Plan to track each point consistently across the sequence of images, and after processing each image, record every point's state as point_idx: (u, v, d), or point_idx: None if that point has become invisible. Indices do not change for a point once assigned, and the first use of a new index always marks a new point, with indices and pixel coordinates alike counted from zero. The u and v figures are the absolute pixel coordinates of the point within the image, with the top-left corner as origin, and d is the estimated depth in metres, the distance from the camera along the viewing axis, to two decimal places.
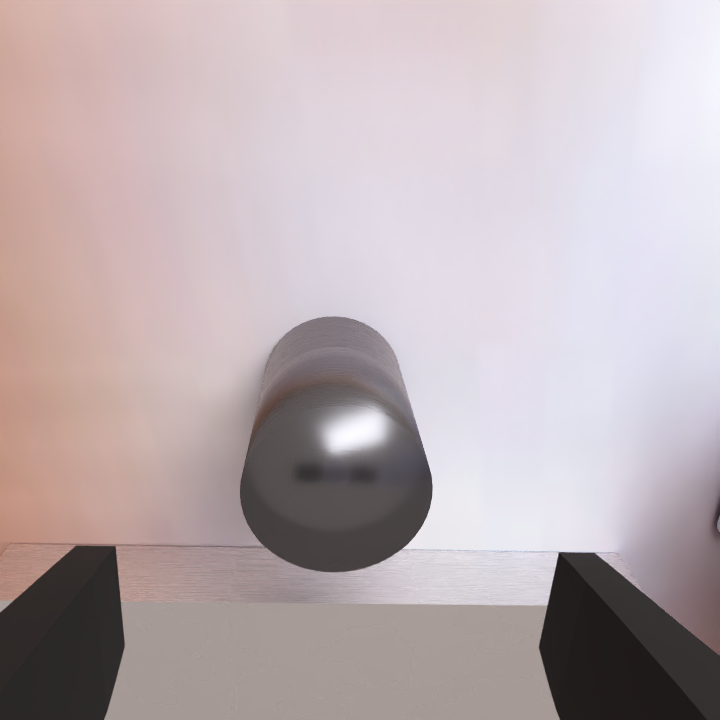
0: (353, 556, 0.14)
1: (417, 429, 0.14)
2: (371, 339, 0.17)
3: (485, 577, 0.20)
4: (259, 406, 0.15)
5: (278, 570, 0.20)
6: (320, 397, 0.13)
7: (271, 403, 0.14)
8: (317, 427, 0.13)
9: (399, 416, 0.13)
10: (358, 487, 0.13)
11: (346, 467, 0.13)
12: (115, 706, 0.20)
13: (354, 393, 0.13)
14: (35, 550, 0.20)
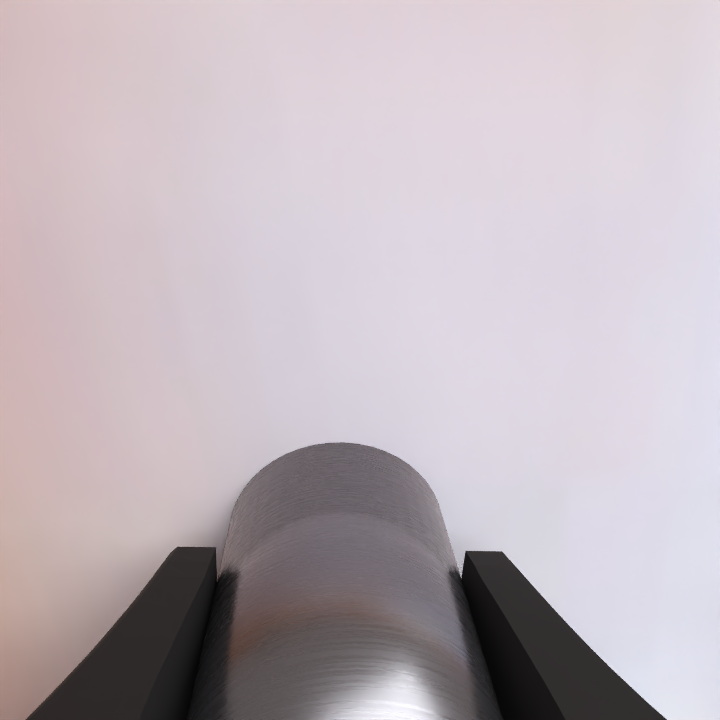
0: None
1: None
2: (402, 492, 0.10)
3: None
4: (204, 654, 0.08)
5: None
6: None
7: (219, 686, 0.07)
8: None
9: None
10: None
11: None
12: None
13: (385, 697, 0.06)
14: None
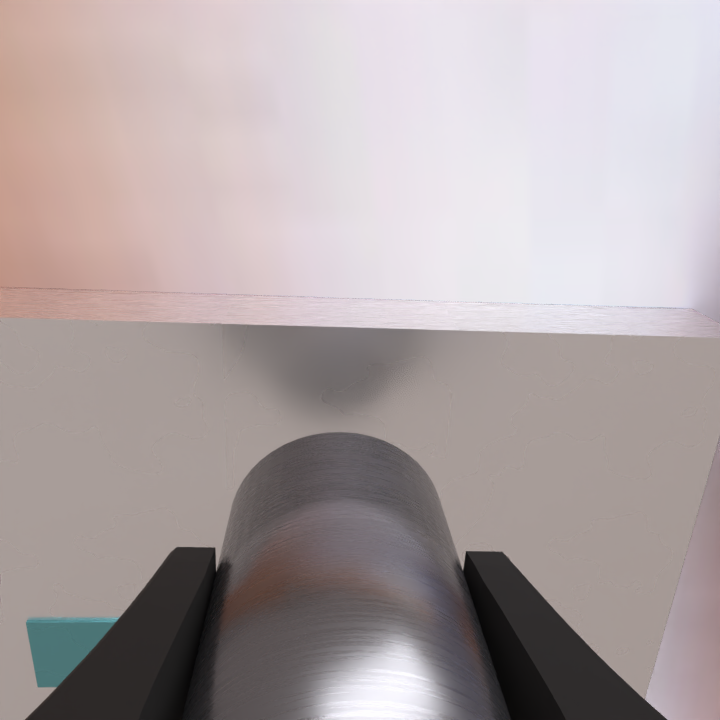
0: None
1: (504, 700, 0.07)
2: (401, 478, 0.10)
3: (537, 317, 0.16)
4: (204, 635, 0.08)
5: (283, 307, 0.16)
6: (315, 687, 0.06)
7: (220, 661, 0.07)
8: None
9: (480, 714, 0.06)
10: None
11: None
12: (87, 474, 0.16)
13: (385, 666, 0.06)
14: None
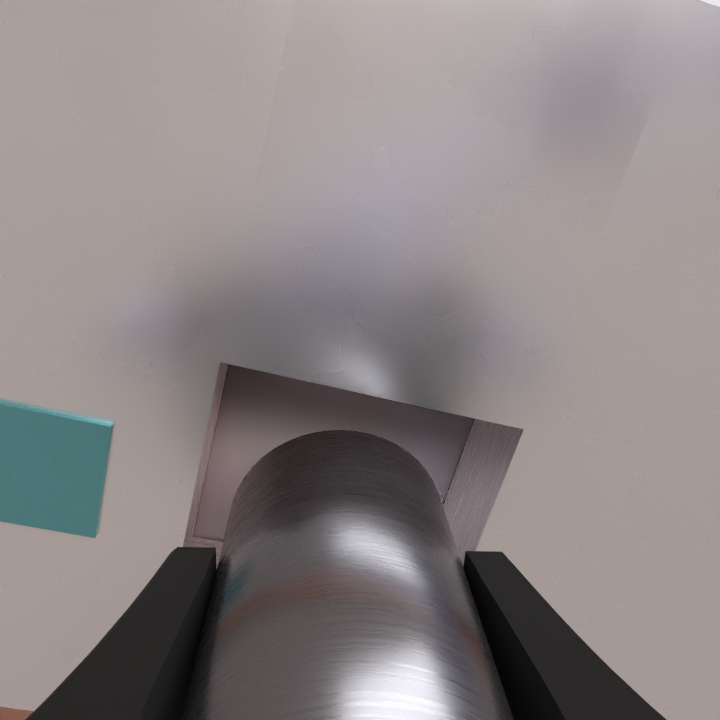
0: None
1: (504, 694, 0.07)
2: (401, 476, 0.10)
3: None
4: (205, 630, 0.08)
5: None
6: (315, 679, 0.06)
7: (220, 654, 0.07)
8: None
9: (481, 706, 0.06)
10: None
11: None
12: (21, 118, 0.09)
13: (386, 658, 0.06)
14: None
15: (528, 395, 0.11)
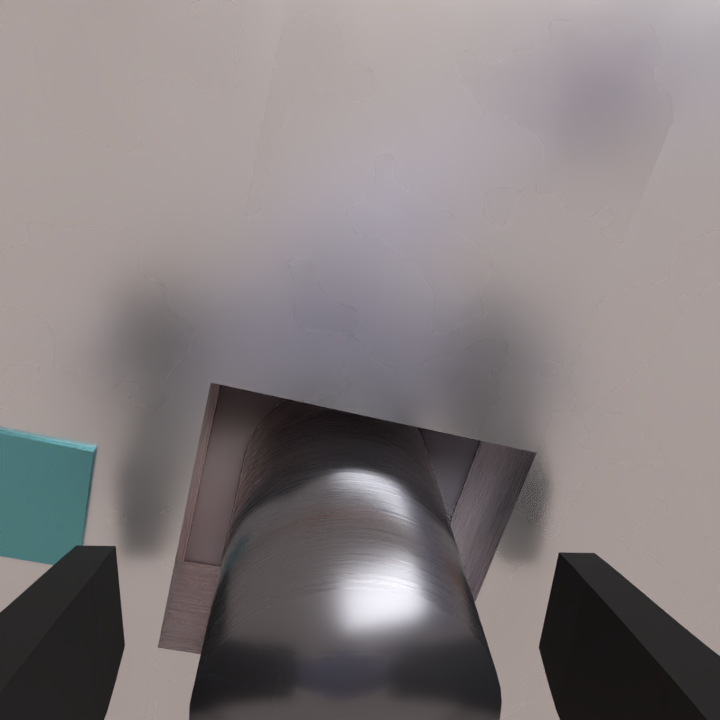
0: None
1: (470, 590, 0.09)
2: (391, 425, 0.12)
3: None
4: (227, 544, 0.10)
5: None
6: (319, 565, 0.08)
7: (242, 556, 0.09)
8: (315, 624, 0.08)
9: (447, 589, 0.08)
10: (382, 708, 0.08)
11: (363, 680, 0.08)
12: None
13: (374, 552, 0.08)
14: None
15: (541, 416, 0.11)
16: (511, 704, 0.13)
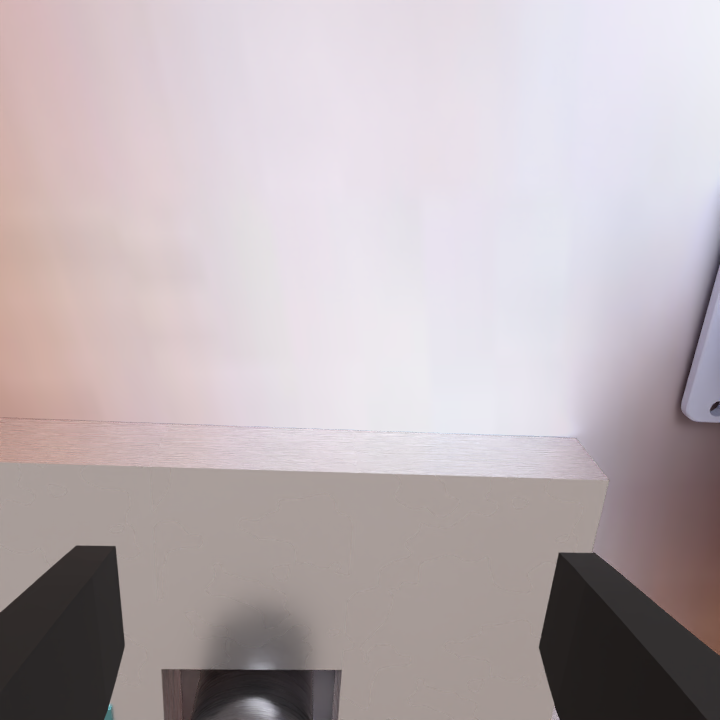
0: None
1: None
2: None
3: (432, 453, 0.19)
4: None
5: (209, 442, 0.18)
6: None
7: None
8: None
9: None
10: None
11: None
12: None
13: None
14: None
15: (338, 653, 0.20)
16: None
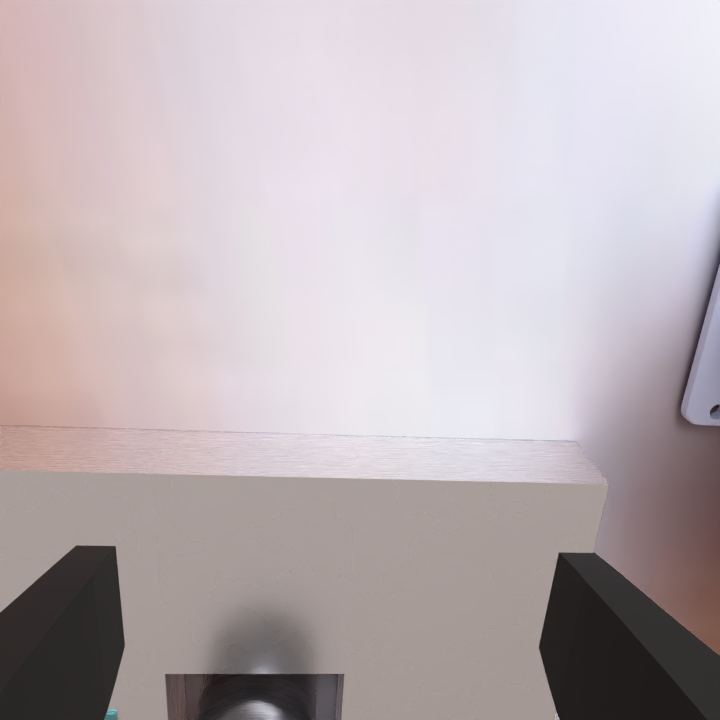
0: None
1: None
2: None
3: (432, 458, 0.19)
4: None
5: (210, 448, 0.19)
6: None
7: None
8: None
9: None
10: None
11: None
12: None
13: None
14: None
15: (340, 658, 0.20)
16: None
